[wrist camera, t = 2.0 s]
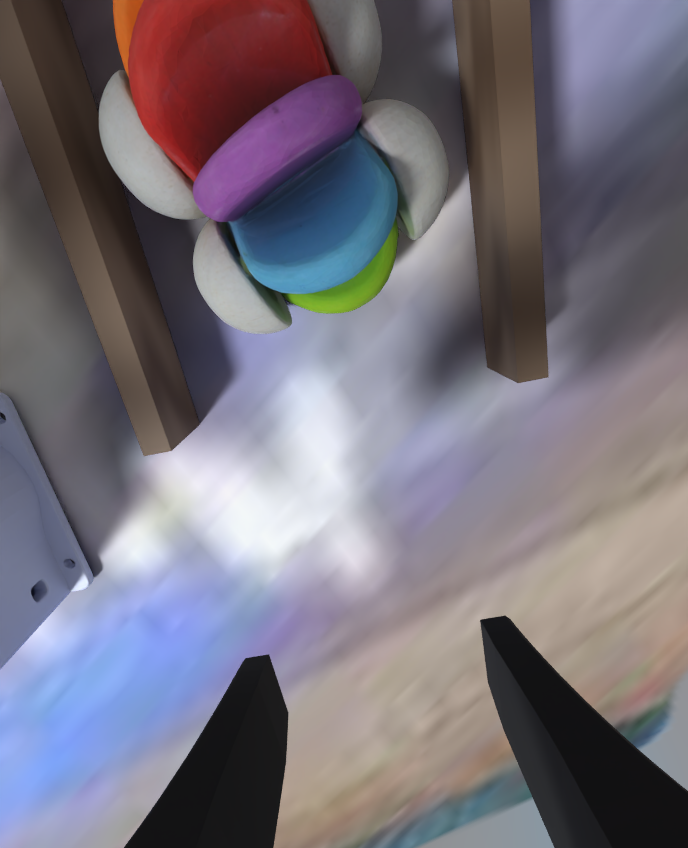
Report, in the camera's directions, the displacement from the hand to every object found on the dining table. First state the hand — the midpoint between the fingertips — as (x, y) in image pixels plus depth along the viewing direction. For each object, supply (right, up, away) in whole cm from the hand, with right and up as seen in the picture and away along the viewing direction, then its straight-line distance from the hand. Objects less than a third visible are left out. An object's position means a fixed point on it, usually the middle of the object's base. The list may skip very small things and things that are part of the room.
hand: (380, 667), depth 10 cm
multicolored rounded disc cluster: (-3, +15, +4) cm, 16 cm away
